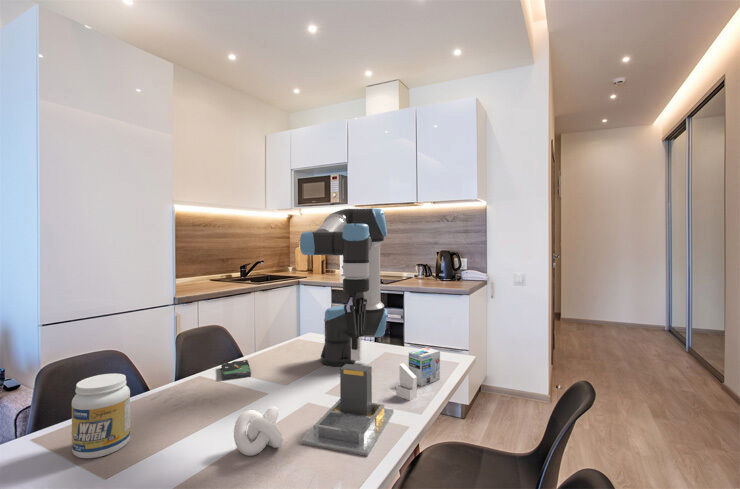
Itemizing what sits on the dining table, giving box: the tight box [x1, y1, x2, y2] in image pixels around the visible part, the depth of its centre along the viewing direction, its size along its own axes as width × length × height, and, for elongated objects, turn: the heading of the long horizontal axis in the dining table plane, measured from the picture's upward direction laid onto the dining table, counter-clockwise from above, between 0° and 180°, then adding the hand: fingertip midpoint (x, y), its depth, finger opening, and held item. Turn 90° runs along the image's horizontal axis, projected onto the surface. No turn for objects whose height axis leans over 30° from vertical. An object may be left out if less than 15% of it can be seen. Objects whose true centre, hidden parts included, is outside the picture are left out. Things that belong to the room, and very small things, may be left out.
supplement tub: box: [71, 372, 131, 459], centre depth 97 cm, size 12×12×17 cm
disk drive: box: [221, 359, 252, 381], centre depth 151 cm, size 10×3×15 cm
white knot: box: [233, 406, 284, 457], centre depth 97 cm, size 11×12×9 cm
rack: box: [300, 398, 395, 457], centre depth 107 cm, size 24×18×4 cm
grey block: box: [339, 363, 373, 416], centre depth 111 cm, size 4×8×14 cm, turn 72°
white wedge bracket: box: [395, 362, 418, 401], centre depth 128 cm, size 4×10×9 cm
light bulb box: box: [408, 346, 441, 387], centre depth 141 cm, size 11×7×11 cm, turn 131°
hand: (356, 359), depth 110 cm, fingers closed
